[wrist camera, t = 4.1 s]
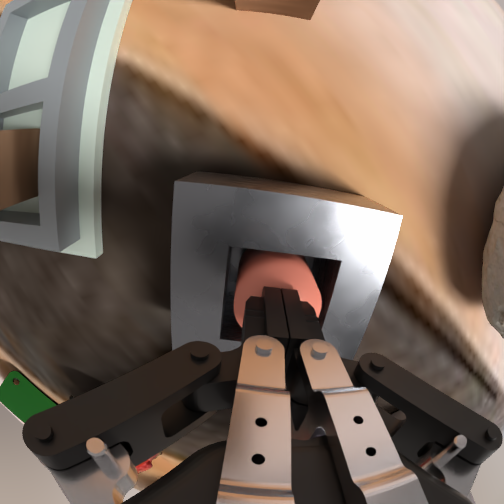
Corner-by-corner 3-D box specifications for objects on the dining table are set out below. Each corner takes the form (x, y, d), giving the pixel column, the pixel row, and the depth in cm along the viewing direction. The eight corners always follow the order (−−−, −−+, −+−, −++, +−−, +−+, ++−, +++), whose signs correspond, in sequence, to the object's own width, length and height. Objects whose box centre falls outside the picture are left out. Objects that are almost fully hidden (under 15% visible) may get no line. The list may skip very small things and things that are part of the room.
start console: (363, 196, 16) (402, 215, 11) (326, 331, 19) (343, 379, 15) (198, 171, 15) (174, 180, 11) (189, 316, 19) (173, 365, 14)
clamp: (35, 368, 29) (-7, 389, 21) (36, 359, 26) (-12, 382, 18) (78, 434, 28) (38, 460, 20) (84, 434, 25) (39, 464, 17)
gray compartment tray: (146, -36, 9) (130, -58, 6) (103, 253, 17) (77, 274, 14) (25, 7, 9) (2, -1, 5) (-3, 235, 17) (-27, 248, 13)
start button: (313, 242, 15) (331, 273, 12) (299, 303, 17) (310, 344, 13) (242, 233, 15) (238, 261, 11) (234, 296, 17) (229, 337, 13)
